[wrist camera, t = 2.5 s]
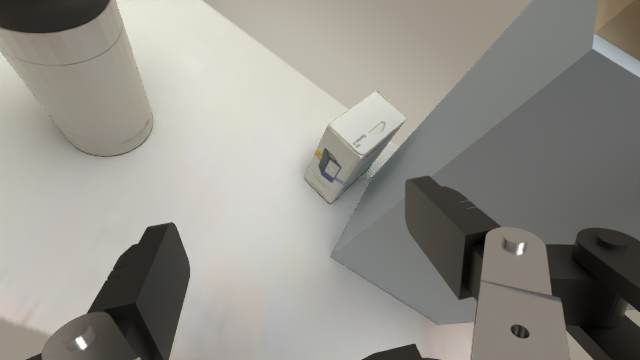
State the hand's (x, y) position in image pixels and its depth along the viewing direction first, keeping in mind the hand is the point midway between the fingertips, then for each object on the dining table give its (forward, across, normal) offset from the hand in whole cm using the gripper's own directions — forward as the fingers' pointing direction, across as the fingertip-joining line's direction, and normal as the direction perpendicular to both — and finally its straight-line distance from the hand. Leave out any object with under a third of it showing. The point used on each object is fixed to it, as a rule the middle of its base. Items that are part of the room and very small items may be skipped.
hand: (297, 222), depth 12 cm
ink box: (+30, -7, +13) cm, 33 cm away
